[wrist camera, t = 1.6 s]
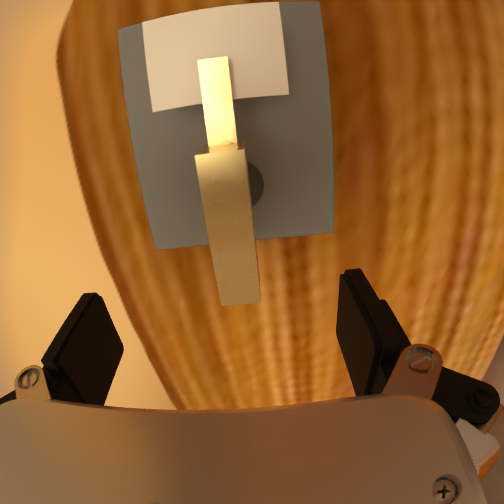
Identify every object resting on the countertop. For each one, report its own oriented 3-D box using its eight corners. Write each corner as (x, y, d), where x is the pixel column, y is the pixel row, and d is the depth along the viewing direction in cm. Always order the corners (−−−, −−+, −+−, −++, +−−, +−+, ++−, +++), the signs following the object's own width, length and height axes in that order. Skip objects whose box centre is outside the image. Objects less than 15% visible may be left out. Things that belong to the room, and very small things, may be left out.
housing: (314, 8, 19) (319, 1, 17) (328, 223, 29) (334, 233, 27) (125, 33, 20) (116, 29, 18) (161, 240, 29) (155, 250, 27)
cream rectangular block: (271, 23, 18) (278, 1, 13) (278, 95, 21) (289, 94, 16) (166, 38, 19) (142, 22, 13) (174, 108, 22) (152, 112, 16)
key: (238, 67, 20) (232, 48, 12) (256, 236, 27) (261, 302, 18) (206, 71, 20) (181, 56, 12) (228, 238, 27) (221, 305, 19)
